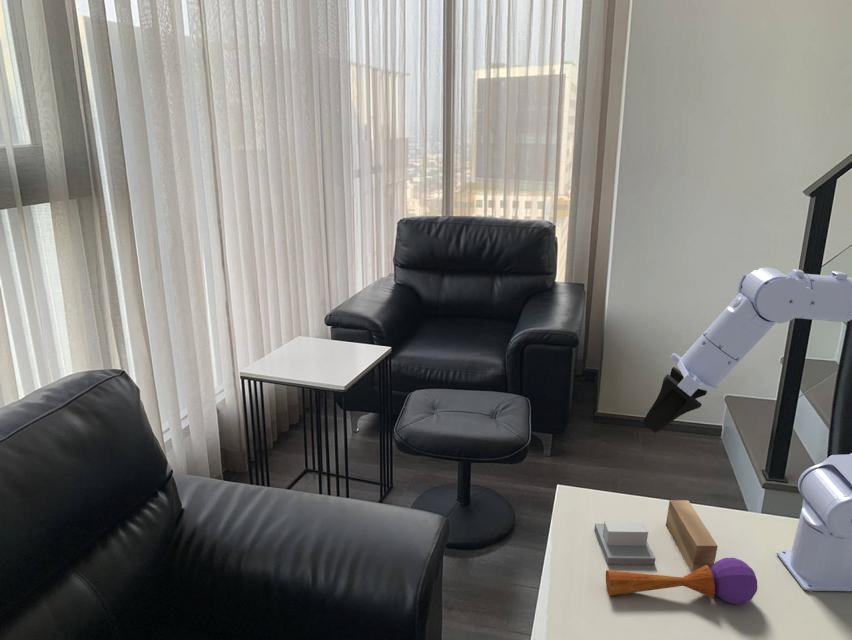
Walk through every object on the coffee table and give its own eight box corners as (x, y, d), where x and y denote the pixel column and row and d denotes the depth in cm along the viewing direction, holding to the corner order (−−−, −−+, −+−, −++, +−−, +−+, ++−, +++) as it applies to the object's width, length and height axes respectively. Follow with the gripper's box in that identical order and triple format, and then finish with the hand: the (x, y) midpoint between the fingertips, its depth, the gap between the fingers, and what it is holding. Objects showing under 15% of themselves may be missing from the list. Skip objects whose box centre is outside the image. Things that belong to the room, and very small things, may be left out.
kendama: (603, 552, 91) (746, 549, 90) (603, 590, 92) (745, 588, 91) (613, 574, 85) (765, 571, 84) (613, 615, 86) (764, 613, 85)
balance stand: (637, 530, 102) (640, 511, 101) (654, 565, 94) (657, 544, 93) (594, 529, 102) (596, 510, 101) (607, 564, 94) (610, 543, 93)
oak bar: (683, 526, 103) (688, 500, 102) (712, 574, 93) (717, 545, 91) (665, 526, 103) (669, 500, 102) (691, 573, 93) (696, 545, 91)
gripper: (699, 324, 92) (637, 393, 96) (691, 332, 79) (620, 411, 83) (741, 356, 89) (676, 425, 94) (740, 369, 76) (665, 449, 81)
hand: (652, 421), depth 88 cm, fingers open, 7 cm apart
